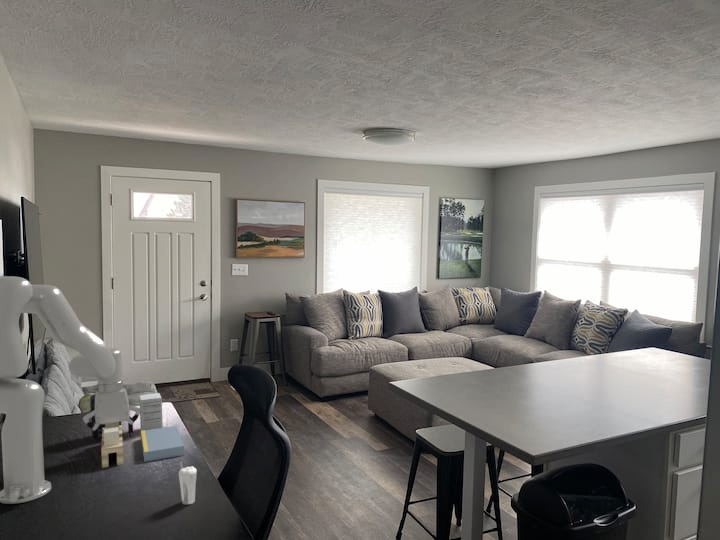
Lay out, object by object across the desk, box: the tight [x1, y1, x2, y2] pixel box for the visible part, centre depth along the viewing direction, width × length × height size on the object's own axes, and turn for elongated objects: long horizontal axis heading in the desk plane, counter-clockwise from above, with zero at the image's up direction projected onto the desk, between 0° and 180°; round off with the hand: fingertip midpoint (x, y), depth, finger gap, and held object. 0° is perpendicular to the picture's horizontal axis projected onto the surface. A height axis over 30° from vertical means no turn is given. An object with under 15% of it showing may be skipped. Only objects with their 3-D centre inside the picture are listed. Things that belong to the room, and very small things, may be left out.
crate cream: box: [104, 427, 119, 447], centre depth 171 cm, size 4×4×4 cm
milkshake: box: [178, 461, 198, 506], centre depth 143 cm, size 5×5×10 cm
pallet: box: [101, 424, 124, 469], centre depth 178 cm, size 22×6×6 cm, turn 24°
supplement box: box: [138, 392, 164, 431], centre depth 200 cm, size 7×7×13 cm
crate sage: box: [105, 422, 119, 429], centre depth 184 cm, size 4×4×4 cm
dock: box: [140, 425, 185, 463], centre depth 183 cm, size 22×12×3 cm, turn 24°
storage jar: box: [89, 393, 122, 442], centre depth 194 cm, size 10×10×18 cm
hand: (114, 438), depth 178 cm, fingers open, 9 cm apart
